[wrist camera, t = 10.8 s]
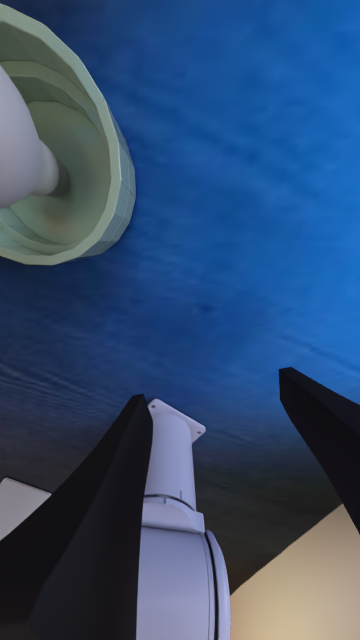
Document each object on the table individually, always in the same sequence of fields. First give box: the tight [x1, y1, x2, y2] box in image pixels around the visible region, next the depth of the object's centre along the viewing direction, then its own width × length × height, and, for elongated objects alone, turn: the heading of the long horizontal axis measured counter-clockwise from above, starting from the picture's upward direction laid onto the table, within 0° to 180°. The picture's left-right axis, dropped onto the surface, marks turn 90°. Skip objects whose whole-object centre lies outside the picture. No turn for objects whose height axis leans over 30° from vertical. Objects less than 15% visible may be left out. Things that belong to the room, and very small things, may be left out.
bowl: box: [0, 4, 136, 265], centre depth 13 cm, size 12×12×5 cm
